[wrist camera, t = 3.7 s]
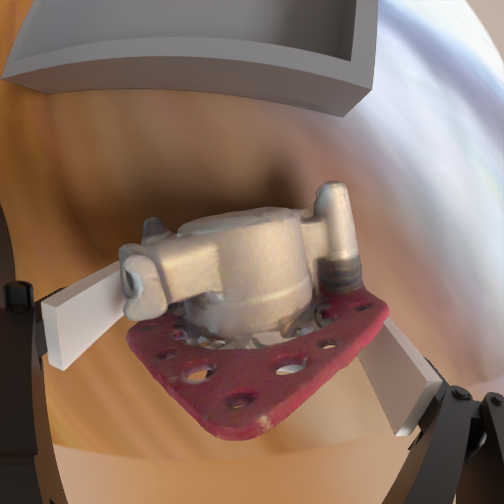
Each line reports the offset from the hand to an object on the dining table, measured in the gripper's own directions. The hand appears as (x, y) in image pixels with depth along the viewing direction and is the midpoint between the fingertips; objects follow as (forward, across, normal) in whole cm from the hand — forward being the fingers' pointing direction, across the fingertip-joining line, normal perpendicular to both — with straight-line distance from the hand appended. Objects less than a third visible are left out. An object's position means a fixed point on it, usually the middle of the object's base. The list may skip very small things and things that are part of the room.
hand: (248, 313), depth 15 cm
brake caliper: (+2, 0, +1) cm, 3 cm away
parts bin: (+2, -7, +21) cm, 22 cm away
